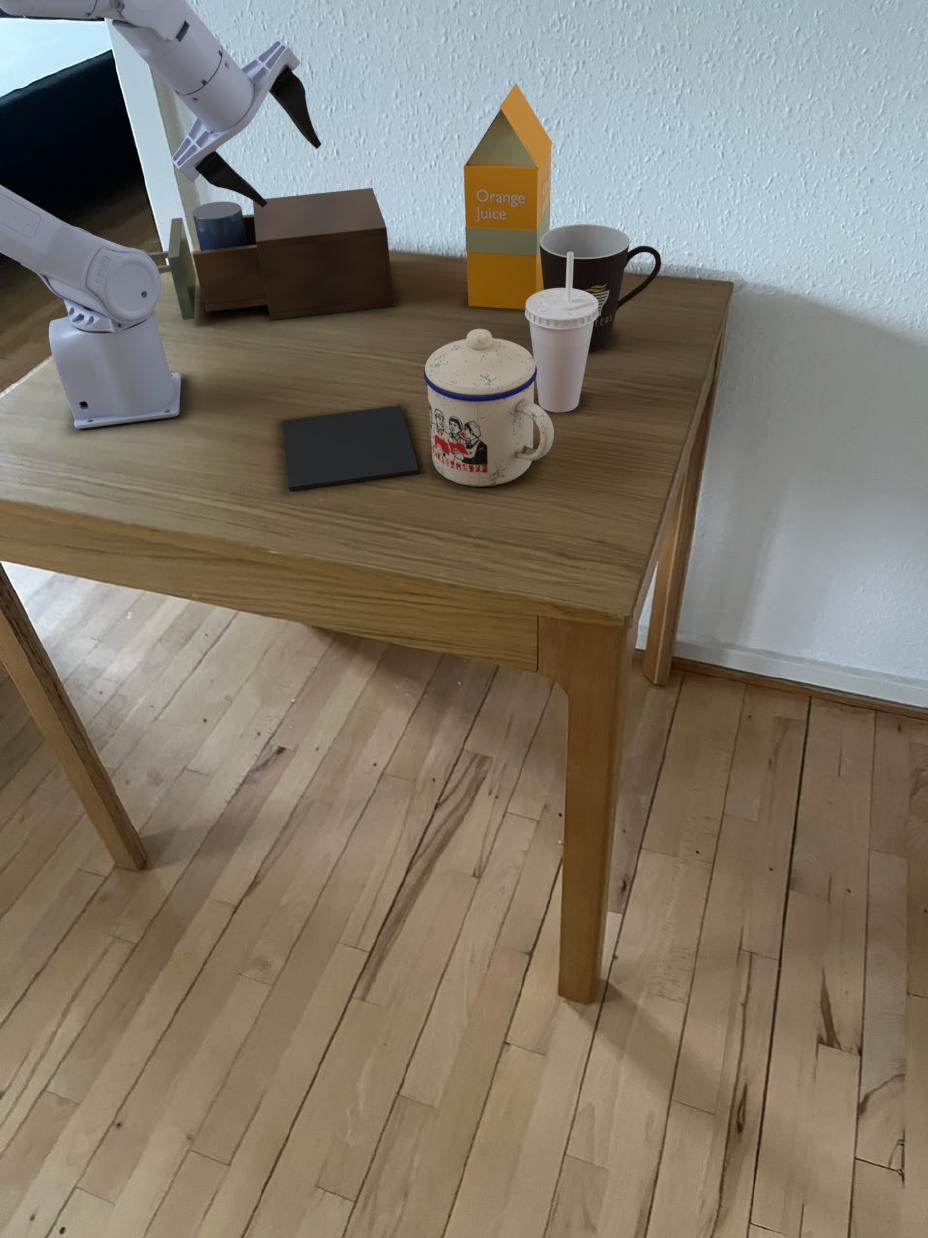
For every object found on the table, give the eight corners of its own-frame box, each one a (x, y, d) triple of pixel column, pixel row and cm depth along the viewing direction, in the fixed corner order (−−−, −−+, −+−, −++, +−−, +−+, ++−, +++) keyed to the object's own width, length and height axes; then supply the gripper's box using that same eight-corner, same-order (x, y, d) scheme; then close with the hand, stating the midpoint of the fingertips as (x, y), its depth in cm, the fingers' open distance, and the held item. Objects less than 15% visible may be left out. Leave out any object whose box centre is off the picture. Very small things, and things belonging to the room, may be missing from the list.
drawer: (142, 324, 102) (124, 262, 97) (148, 282, 110) (132, 222, 106) (299, 306, 104) (289, 244, 99) (293, 265, 112) (283, 206, 108)
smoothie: (589, 422, 86) (598, 269, 76) (519, 417, 87) (519, 266, 77) (596, 387, 90) (606, 239, 81) (529, 382, 91) (531, 236, 82)
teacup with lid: (408, 463, 82) (396, 336, 74) (479, 420, 87) (476, 297, 79) (512, 517, 76) (512, 386, 68) (583, 468, 80) (591, 340, 72)
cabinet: (270, 320, 104) (255, 241, 98) (266, 274, 113) (252, 199, 107) (393, 305, 105) (386, 227, 99) (379, 261, 114) (372, 187, 109)
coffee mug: (530, 354, 96) (531, 255, 89) (545, 316, 102) (547, 221, 95) (646, 364, 93) (657, 263, 87) (655, 325, 99) (665, 228, 93)
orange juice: (466, 305, 104) (459, 105, 91) (483, 273, 111) (479, 81, 97) (537, 310, 103) (540, 107, 89) (550, 277, 109) (555, 82, 96)
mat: (289, 491, 80) (288, 487, 79) (283, 424, 88) (282, 420, 87) (419, 473, 81) (418, 469, 80) (401, 408, 89) (400, 404, 88)
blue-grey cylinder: (208, 295, 104) (191, 220, 99) (208, 276, 108) (192, 203, 103) (255, 289, 105) (241, 215, 99) (254, 271, 109) (240, 198, 103)
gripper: (232, -17, 83) (318, 97, 94) (121, 110, 85) (219, 206, 97) (270, 15, 79) (354, 129, 91) (153, 146, 81) (250, 241, 93)
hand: (287, 171), depth 94 cm, fingers open, 7 cm apart
